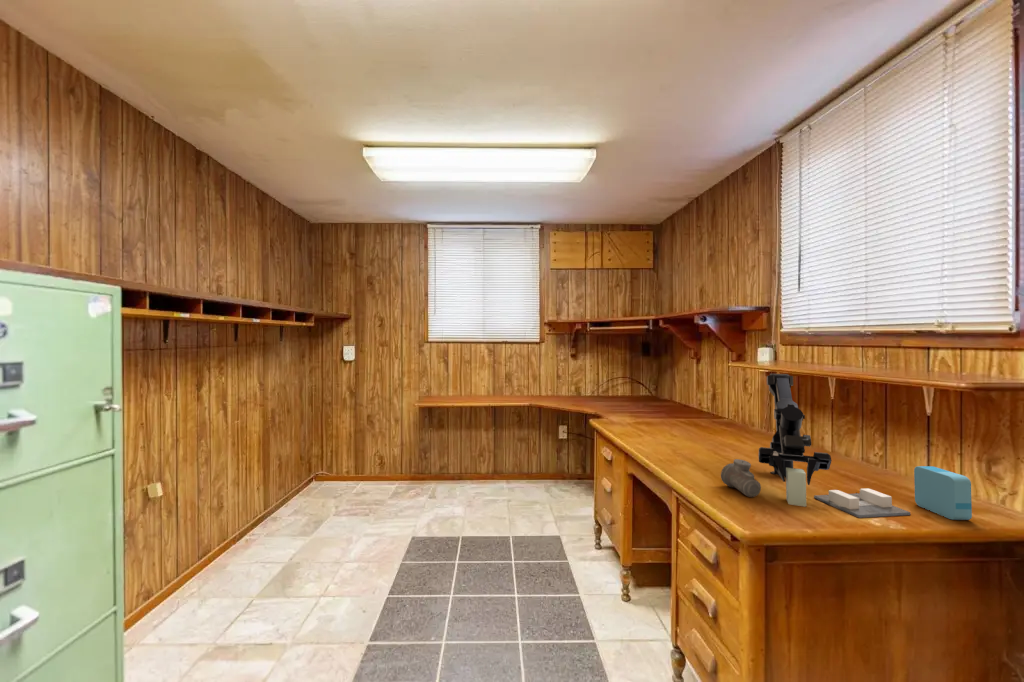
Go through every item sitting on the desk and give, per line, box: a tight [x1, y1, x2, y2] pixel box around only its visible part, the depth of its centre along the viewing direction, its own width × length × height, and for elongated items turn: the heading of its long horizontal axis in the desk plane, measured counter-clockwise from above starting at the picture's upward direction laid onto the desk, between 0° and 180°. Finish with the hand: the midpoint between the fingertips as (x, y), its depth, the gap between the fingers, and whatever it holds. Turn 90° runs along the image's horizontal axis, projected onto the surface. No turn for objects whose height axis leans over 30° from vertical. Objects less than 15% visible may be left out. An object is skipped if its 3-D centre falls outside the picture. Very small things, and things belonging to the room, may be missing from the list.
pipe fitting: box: [720, 458, 762, 498], centre depth 135 cm, size 12×8×10 cm
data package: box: [913, 465, 973, 521], centre depth 117 cm, size 12×4×12 cm, turn 176°
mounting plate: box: [813, 492, 911, 519], centre depth 122 cm, size 16×15×1 cm
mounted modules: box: [828, 488, 893, 509], centre depth 122 cm, size 14×7×3 cm, turn 95°
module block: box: [785, 467, 807, 508], centre depth 125 cm, size 4×4×10 cm
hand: (796, 482), depth 124 cm, fingers open, 6 cm apart
